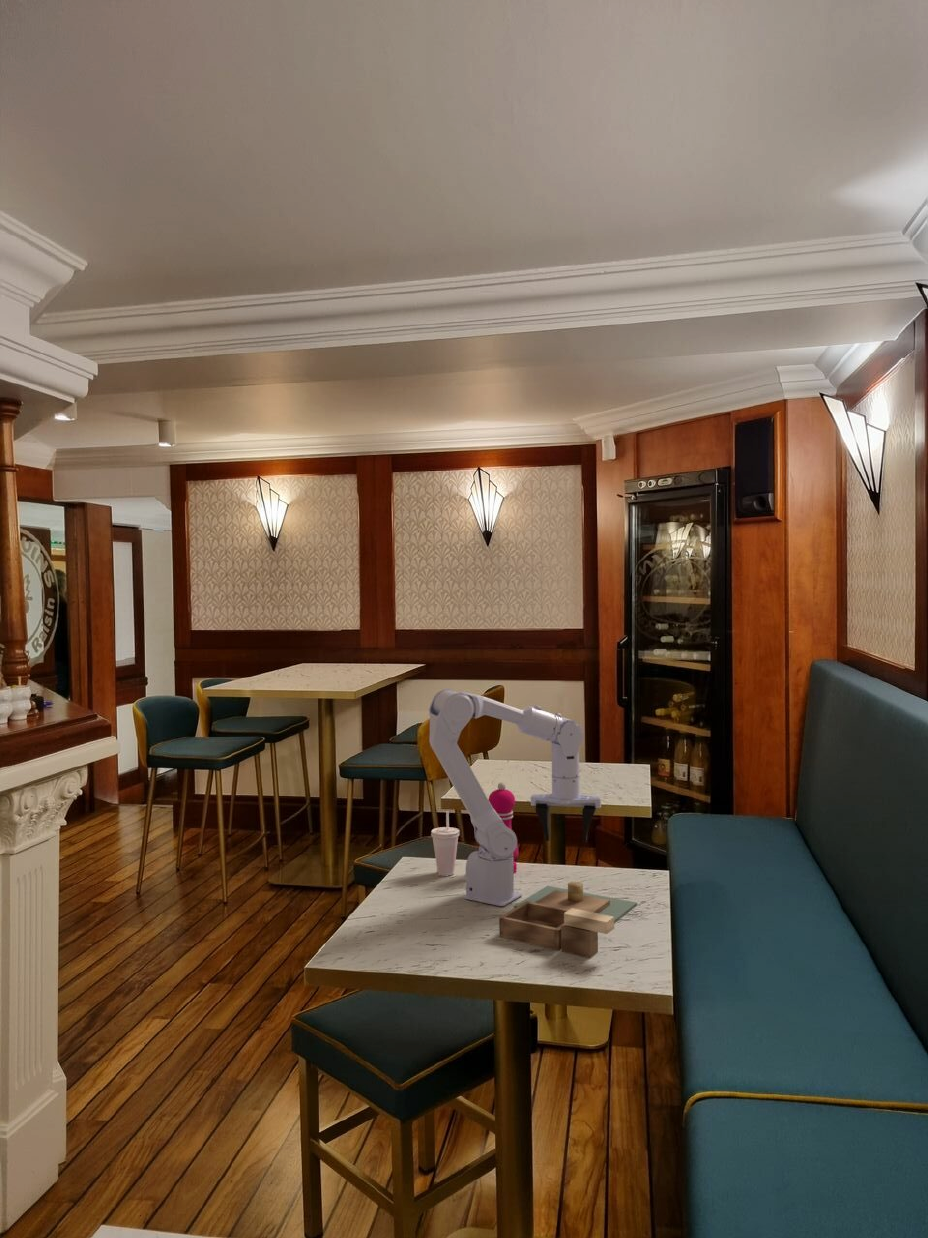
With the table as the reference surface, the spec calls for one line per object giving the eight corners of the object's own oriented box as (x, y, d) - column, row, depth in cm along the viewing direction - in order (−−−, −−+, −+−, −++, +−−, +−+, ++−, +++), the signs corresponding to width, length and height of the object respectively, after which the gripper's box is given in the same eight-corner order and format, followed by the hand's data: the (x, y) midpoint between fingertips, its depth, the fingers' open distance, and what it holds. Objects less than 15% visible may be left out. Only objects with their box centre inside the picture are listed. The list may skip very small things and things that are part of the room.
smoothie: (456, 879, 190) (456, 815, 190) (428, 877, 191) (427, 814, 191) (462, 870, 196) (461, 808, 196) (435, 868, 198) (434, 807, 197)
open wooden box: (499, 936, 157) (499, 912, 157) (526, 919, 165) (526, 895, 165) (590, 958, 147) (590, 931, 147) (614, 938, 155) (614, 913, 155)
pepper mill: (509, 878, 190) (507, 787, 190) (480, 873, 194) (479, 784, 193) (524, 869, 196) (523, 781, 196) (496, 864, 200) (495, 778, 199)
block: (564, 925, 150) (563, 913, 150) (571, 919, 152) (571, 908, 152) (607, 934, 145) (606, 922, 145) (614, 928, 148) (614, 916, 148)
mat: (514, 908, 171) (514, 905, 171) (547, 888, 183) (547, 885, 183) (608, 928, 160) (608, 925, 160) (637, 905, 172) (637, 902, 172)
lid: (531, 909, 169) (531, 889, 169) (555, 894, 177) (554, 875, 177) (588, 921, 162) (588, 900, 162) (609, 905, 171) (609, 885, 171)
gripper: (528, 778, 179) (528, 844, 179) (599, 780, 176) (599, 847, 176) (533, 771, 186) (534, 835, 186) (601, 774, 182) (602, 838, 183)
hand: (566, 840), depth 181 cm, fingers open, 7 cm apart
